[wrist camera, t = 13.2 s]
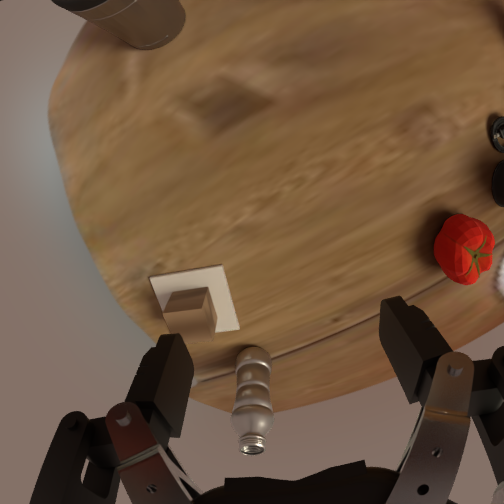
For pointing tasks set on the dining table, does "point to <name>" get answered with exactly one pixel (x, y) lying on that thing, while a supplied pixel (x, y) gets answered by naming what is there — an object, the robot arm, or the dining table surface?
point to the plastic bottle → (252, 400)
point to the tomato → (464, 248)
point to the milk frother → (500, 184)
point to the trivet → (198, 279)
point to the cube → (191, 315)
